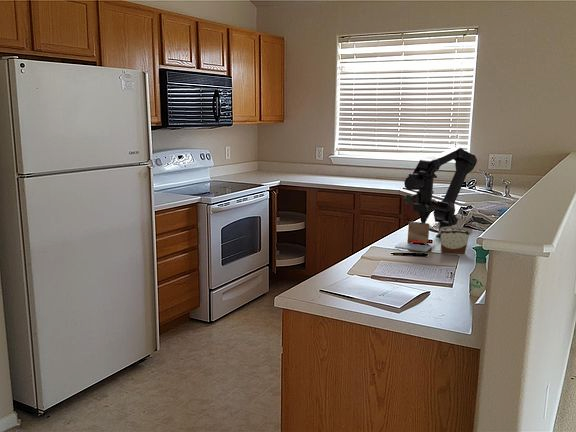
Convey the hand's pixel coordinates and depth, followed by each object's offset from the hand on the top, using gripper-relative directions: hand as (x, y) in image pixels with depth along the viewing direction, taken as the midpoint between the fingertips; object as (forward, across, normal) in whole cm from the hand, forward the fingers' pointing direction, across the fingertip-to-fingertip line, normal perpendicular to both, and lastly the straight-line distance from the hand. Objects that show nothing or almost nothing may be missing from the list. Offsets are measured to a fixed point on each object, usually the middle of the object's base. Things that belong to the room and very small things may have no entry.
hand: (423, 224), depth 231 cm
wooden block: (+7, +7, 0) cm, 10 cm away
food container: (+7, +13, +15) cm, 21 cm away
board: (+7, +14, 0) cm, 15 cm away
